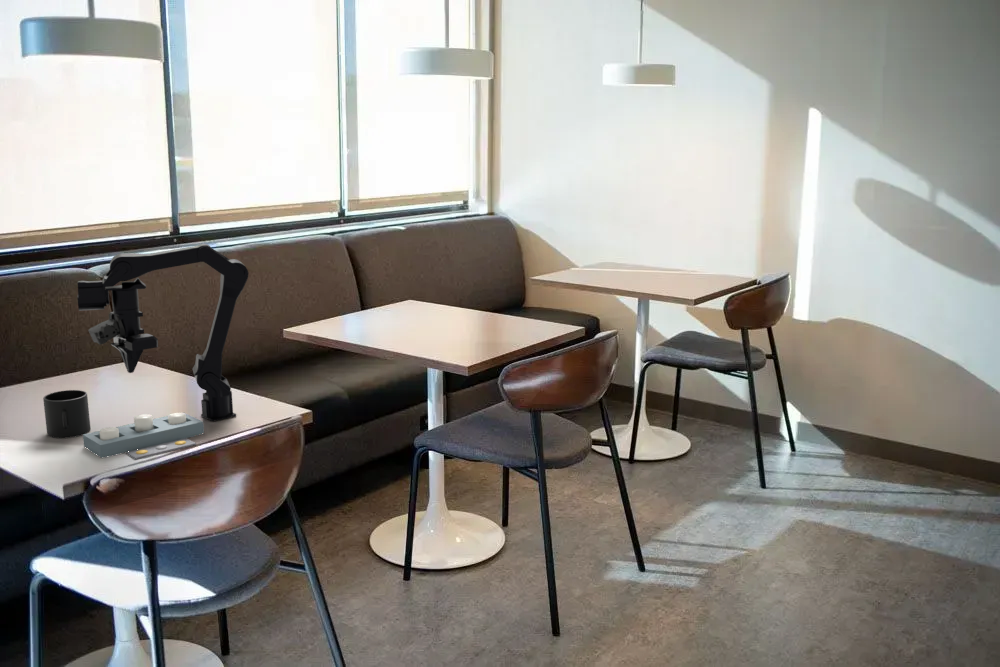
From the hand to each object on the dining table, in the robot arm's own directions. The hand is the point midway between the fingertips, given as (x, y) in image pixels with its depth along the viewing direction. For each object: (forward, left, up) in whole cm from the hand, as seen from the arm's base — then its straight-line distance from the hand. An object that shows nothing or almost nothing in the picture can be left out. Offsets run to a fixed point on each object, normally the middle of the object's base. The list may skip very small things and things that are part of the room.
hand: (130, 372), depth 232 cm
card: (+3, +21, -13) cm, 25 cm away
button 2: (-5, +12, -13) cm, 18 cm away
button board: (+3, +12, -13) cm, 18 cm away
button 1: (+11, +12, -12) cm, 21 cm away
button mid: (+3, +12, -11) cm, 17 cm away
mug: (+14, -5, -13) cm, 20 cm away
